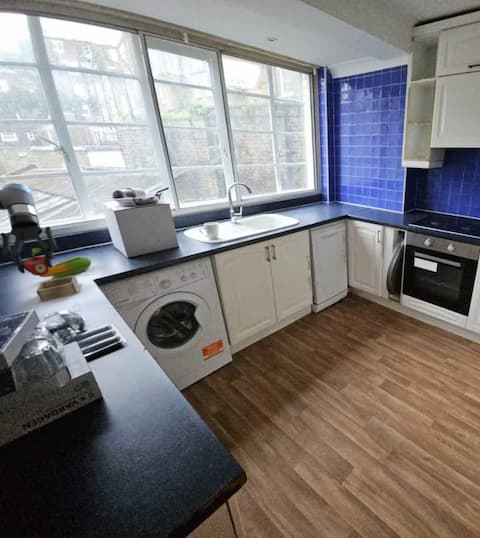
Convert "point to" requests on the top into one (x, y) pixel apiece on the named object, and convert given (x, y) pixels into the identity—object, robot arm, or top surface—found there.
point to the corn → (68, 267)
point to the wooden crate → (57, 288)
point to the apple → (36, 264)
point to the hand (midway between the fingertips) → (36, 268)
